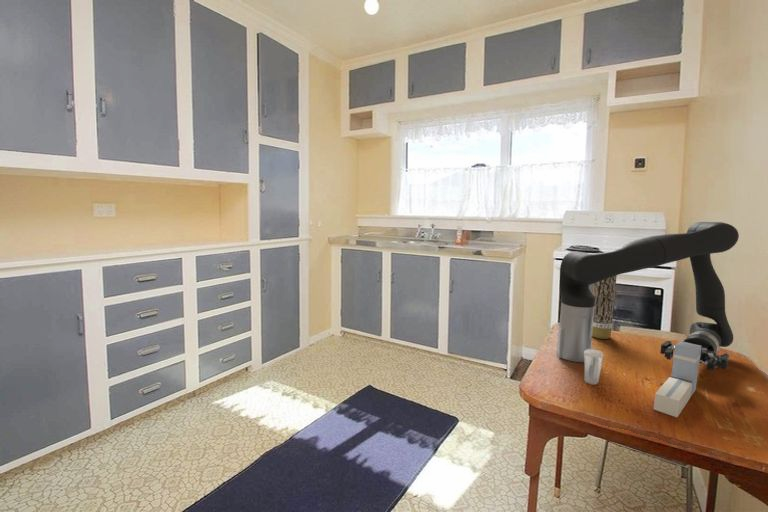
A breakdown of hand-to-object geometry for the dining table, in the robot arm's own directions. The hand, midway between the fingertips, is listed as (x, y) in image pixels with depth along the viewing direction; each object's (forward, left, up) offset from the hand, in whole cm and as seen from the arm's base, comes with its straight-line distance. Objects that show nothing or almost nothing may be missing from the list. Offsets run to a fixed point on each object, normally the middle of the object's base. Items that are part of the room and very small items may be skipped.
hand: (688, 361), depth 100 cm
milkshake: (-23, -5, -7) cm, 25 cm away
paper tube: (-13, +36, -7) cm, 39 cm away
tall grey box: (-1, -2, -7) cm, 8 cm away
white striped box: (-6, -11, -7) cm, 15 cm away
